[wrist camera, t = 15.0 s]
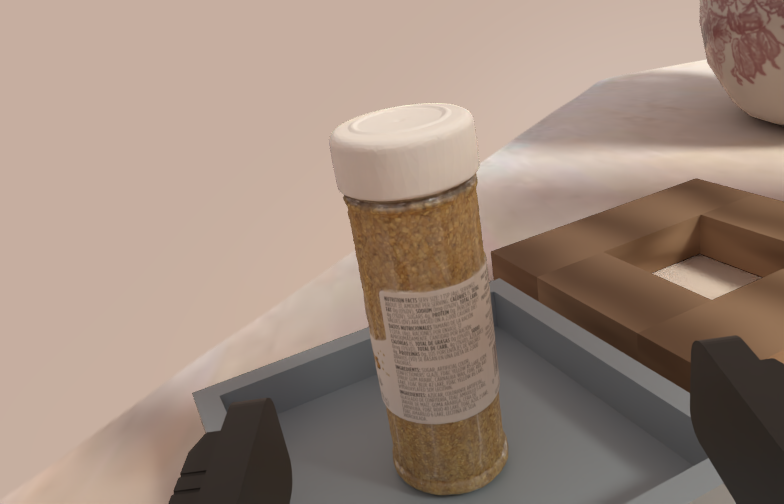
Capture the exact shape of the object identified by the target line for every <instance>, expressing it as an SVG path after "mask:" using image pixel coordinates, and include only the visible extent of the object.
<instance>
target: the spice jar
mask: <svg viewBox="0 0 784 504" xmlns="http://www.w3.org/2000/svg"><path fill="white" fill-rule="evenodd" d="M329 145H330V151H331V157H332V163H333V168H334V172H335V177H336V182H337V187H338V189H339V190H340V192H342V193H343V194H344V197H343V199H344V201H345V203H346V205H347V206H348V216H349V219H350V223H351V228H352V234H353V238H354V239H353V241H354V244H355V250H356V257H357V261H358V264H359V272H360V278H361V282H362V288H363V291H364V303H365V310H366V315H367V319H368V323H369V332H370V339H371V344H372V349H373V354H374V359H375V364H376V370H377V375H378V380H379V385H380V390H381V395H382V399H383V402H384V403H385V405H386V410H387V415H388V420H389V425H390V432H391V436H392V441H393V462H394V465H395V468H396V470H397V473H398V474H399V476H400V477H401V478H403V480H404V481H405V482H406V483H407V484H409V485H410V486H412V487H413V488H415V489H417V490H420V491H423V492H426V493H430V494H434V495H451V494H463V493H468V492H472V491H474V490H477V489H480V488H483V487H484V486H485V485H487V484H488V483H490V482H491V481H492V480H493V479H494V478H495V477H496V476H497V475H498V474H499V473H500V472H501V471H502V469H503V467H504V466H505V464H506V462H507V459H508V442H507V437H506V435H505V432H504V431H503V428H502V417H501V409H500V400H499V386H500V378H499V368H498V359H497V350H496V341H495V332H494V323H493V314H492V305H491V296H490V287H489V278H488V268H487V259H486V255H485V253H484V251H483V241H482V234H481V225H480V217H479V206H478V199H477V193H476V186H477V177H476V172H477V171H478V169H479V165H480V164H479V155H478V145H477V138H476V131H475V124H474V119H473V116H472V114H471V113H470V112H469V111H468V110H467V109H465V108H463V107H461V106H457V105H453V104H443V103H427V104H414V105H405V106H399V107H393V108H387V109H383V110H378V111H374V112H371V113H367V114H364V115H361V116H358V117H355V118H353V119H351V120H349V121H346V122H344V123H343V124H341V125H339V126H338V127H337V128H336V129H334V130H333V132H332V133H331V136H330V139H329Z"/></svg>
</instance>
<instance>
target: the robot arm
mask: <svg viewBox="0 0 784 504" xmlns="http://www.w3.org/2000/svg"><path fill="white" fill-rule="evenodd" d="M690 415H691V421H692V425H693V429H694V432H695V434H696V437H697V439H698V441H699V443H700V445H701V446H702V448H703V450H704V451H705V453H706V455H707V456H708V458H709V460H710V461H711V463H712V464H713V466H714V468H715V469H716V471H717V473H718V474H719V476H720V478H721V479H722V481H723V483H724V484H725V486H726V488H727V489H728V491H729V493H730V494H731V496H732V498H733V499H734V501H735V503H736V504H784V364H783V363H782V362H780V361H778V360H776V359H774V358H771V359H763V360H760V359H759V358H758V357H757V356H756V354H755V353H754V352H753V351H752V350H751V349H750V348H749V346H748V345H747V344H746V343H745V342H744V341H743V339H742V338H741V337H739V336H737V335H734V336H727V337H719V338H712V339H705V340H697V341H694V342H693V344H692V347H691V372H690ZM180 474H181V478H179V479H178V481H177V484H176V486H175V489H174V495H172V496H171V499H170V501H169V504H290V499H291V494H292V467H291V461H290V457H289V453H288V450H287V447H286V443H285V440H284V436H283V433H282V429H281V426H280V423H279V419H278V416H277V412H276V409H275V406H274V403H273V401H272V400H271V399H270V398H262V399H255V400H248V401H240V402H233V403H231V404H230V406H229V408H228V411H227V414H226V416H225V419H224V422H223V425H222V428H221V431H213V432H207V433H206V434H205V435H204V436H203V437H202V438H201V439H200V440H199V442H198V443H197V444H196V445H195V446H194V447H193V448H192V449H191V451H190V452H189V453H188V456H187V458H186V461H185V463H184V466H183V468H182V471H181V473H180Z"/></svg>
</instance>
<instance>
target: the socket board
mask: <svg viewBox="0 0 784 504" xmlns="http://www.w3.org/2000/svg"><path fill="white" fill-rule="evenodd" d="M697 254H702V255H705V256H708V257H710V258H713V259H715V260H718V261H721V262H723V263H726V264H729V265H731V266H734V267H737V268H739V269H742V270H744V271H747V272H750V273H752V274H755V275H758V276H760V277H763V278H761V279H759V280H756V281H754V282H752V283H750V284H747V285H745V286H743V287H741V288H738V289H736V290H734V291H732V292H729V293H727V294H725V295H722V296H720V297H718V298H716V299H713V300H710V299H708V298H706V297H704V296H701V295H699V294H697V293H695V292H692V291H690V290H688V289H686V288H683V287H681V286H679V285H677V284H674V283H672V282H670V281H668V280H665V279H663V278H661V277H658V276H656V275H654V274H652V273H653V272H655V271H658V270H660V269H663V268H665V267H668V266H670V265H673V264H675V263H678V262H680V261H682V260H685V259H687V258H690V257H692V256H695V255H697ZM491 258H492V268H493V277H494V280H496V279H499V278H500V279H502V280H503V281H505V282H507V283H508V284H510V285H512V286H513V287H515V288H517V289H518V290H520V291H522V292H523V293H525V294H527V295H528V296H530V297H532V298H533V299H535V300H537V301H538V302H540V303H542V304H543V305H545V306H547V307H548V308H550V309H551V310H553V311H555V312H556V313H558V314H560V315H561V316H563V317H565V318H566V319H568V320H570V321H571V322H573V323H575V324H576V325H578V326H580V327H581V328H583V329H585V330H586V331H588V332H590V333H591V334H593V335H595V336H596V337H598V338H599V339H601V340H603V341H604V342H606V343H608V344H609V345H611V346H613V347H614V348H616V349H618V350H619V351H621V352H623V353H624V354H626V355H628V356H629V357H631V358H633V359H634V360H636V361H638V362H639V363H641V364H642V365H644V366H646V367H647V368H649V369H651V370H652V371H654V372H656V373H657V374H659V375H661V376H662V377H664V378H666V379H667V380H669V381H671V382H672V383H674V384H676V385H677V386H679V387H681V388H682V389H684V390H686V391H687V392H689V393H690V372H691V347H692V344H693V342H694V341H697V340H705V339H712V338H719V337H727V336H734V335H737V336H739V337H741V338H742V339H743V341H744V342H745V343H746V344H747V345H748V346H749V348H750V349H751V350H752V351H753V352H754V353H755V354H756V356H757V357H758V358H759V359H760V360H763V359H771V358H774V359H776V360H778V361H780V362H782V363H783V364H784V202H783V201H779V200H776V199H772V198H768V197H764V196H761V195H757V194H753V193H749V192H745V191H742V190H738V189H734V188H730V187H727V186H723V185H719V184H715V183H711V182H708V181H704V180H700V179H693V180H690V181H687V182H685V183H682V184H679V185H676V186H673V187H671V188H668V189H665V190H662V191H659V192H657V193H654V194H651V195H648V196H645V197H643V198H640V199H637V200H634V201H631V202H629V203H626V204H623V205H620V206H617V207H615V208H612V209H609V210H606V211H603V212H601V213H598V214H595V215H592V216H589V217H587V218H584V219H581V220H578V221H575V222H573V223H570V224H567V225H564V226H561V227H558V228H556V229H553V230H550V231H547V232H544V233H542V234H539V235H536V236H533V237H530V238H528V239H525V240H522V241H519V242H516V243H514V244H511V245H508V246H505V247H502V248H500V249H497V250H494V251H491Z"/></svg>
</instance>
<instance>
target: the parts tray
mask: <svg viewBox="0 0 784 504" xmlns="http://www.w3.org/2000/svg"><path fill="white" fill-rule="evenodd" d="M489 287H490V296H491V305H492V314H493V323H494V332H495V341H496V350H497V359H498V368H499V378H500V386H499V400H500V409H501V417H502V428H503V431H504V432H505V435H506V437H507V442H508V459H507V462H506V464H505V466H504V467H503V469H502V471H501V472H500V473H499V474H498V475H497V476H496V477H495V478H494V479H493V480H492V481H491V482H490V483H488V484H487V485H485V486H484V487H483V488H480V489H477V490H474V491H472V492H468V493H463V494H451V495H434V494H430V493H426V492H423V491H420V490H417V489H415V488H413V487H412V486H410V485H409V484H407V483H406V482H405V481H404V480H403V478H401V477H400V476H399V474H398V473H397V470H396V468H395V465H394V462H393V441H392V436H391V432H390V425H389V420H388V415H387V410H386V405H385V403H384V402H383V399H382V395H381V390H380V385H379V380H378V375H377V370H376V364H375V359H374V354H373V349H372V344H371V339H370V332H369V327H368V328H365V329H362V330H360V331H357V332H354V333H352V334H349V335H346V336H344V337H341V338H338V339H336V340H333V341H330V342H328V343H325V344H322V345H320V346H317V347H314V348H312V349H309V350H306V351H304V352H301V353H298V354H296V355H293V356H290V357H288V358H285V359H282V360H280V361H277V362H274V363H271V364H269V365H266V366H263V367H261V368H258V369H255V370H253V371H250V372H247V373H245V374H242V375H239V376H237V377H234V378H231V379H229V380H226V381H223V382H221V383H218V384H215V385H213V386H210V387H207V388H205V389H202V390H199V391H197V392H194V393H192V394H193V397H194V400H195V403H196V406H197V409H198V412H199V415H200V418H201V421H202V424H203V427H204V430H205V433H207V432H213V431H221V428H222V425H223V422H224V419H225V416H226V414H227V411H228V408H229V406H230V404H231V403H233V402H240V401H248V400H255V399H262V398H270V399H271V400H272V401H273V403H274V406H275V409H276V412H277V416H278V419H279V423H280V426H281V429H282V433H283V436H284V440H285V443H286V447H287V450H288V453H289V457H290V461H291V467H292V494H291V499H290V504H736V503H735V501H734V499H733V498H732V496H731V494H730V493H729V491H728V489H727V488H726V486H725V484H724V483H723V481H722V479H721V478H720V476H719V474H718V473H717V471H716V469H715V468H714V466H713V464H712V463H711V461H710V460H709V458H708V456H707V455H706V453H705V451H704V450H703V448H702V446H701V445H700V443H699V441H698V439H697V437H696V434H695V432H694V429H693V425H692V421H691V415H690V393H689V392H687V391H686V390H684V389H682V388H681V387H679V386H677V385H676V384H674V383H672V382H671V381H669V380H667V379H666V378H664V377H662V376H661V375H659V374H657V373H656V372H654V371H652V370H651V369H649V368H647V367H646V366H644V365H642V364H641V363H639V362H638V361H636V360H634V359H633V358H631V357H629V356H628V355H626V354H624V353H623V352H621V351H619V350H618V349H616V348H614V347H613V346H611V345H609V344H608V343H606V342H604V341H603V340H601V339H599V338H598V337H596V336H595V335H593V334H591V333H590V332H588V331H586V330H585V329H583V328H581V327H580V326H578V325H576V324H575V323H573V322H571V321H570V320H568V319H566V318H565V317H563V316H561V315H560V314H558V313H556V312H555V311H553V310H551V309H550V308H548V307H547V306H545V305H543V304H542V303H540V302H538V301H537V300H535V299H533V298H532V297H530V296H528V295H527V294H525V293H523V292H522V291H520V290H518V289H517V288H515V287H513V286H512V285H510V284H508V283H507V282H505V281H503V280H502V279H500V278H499V279H496V280H493V281H491V282H489Z"/></svg>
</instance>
